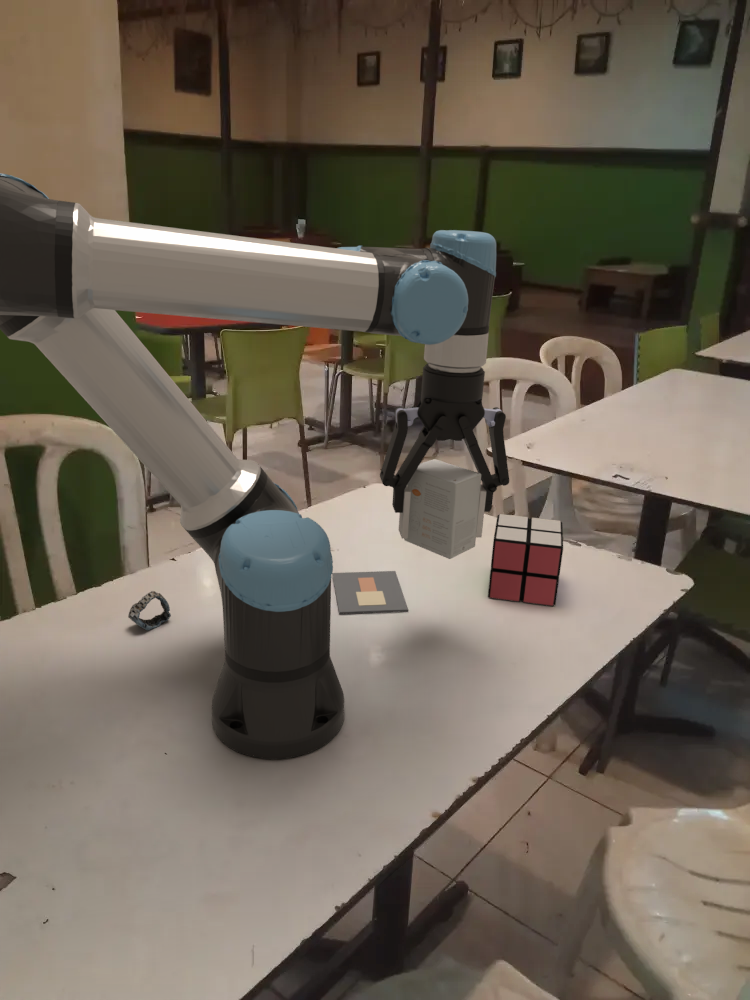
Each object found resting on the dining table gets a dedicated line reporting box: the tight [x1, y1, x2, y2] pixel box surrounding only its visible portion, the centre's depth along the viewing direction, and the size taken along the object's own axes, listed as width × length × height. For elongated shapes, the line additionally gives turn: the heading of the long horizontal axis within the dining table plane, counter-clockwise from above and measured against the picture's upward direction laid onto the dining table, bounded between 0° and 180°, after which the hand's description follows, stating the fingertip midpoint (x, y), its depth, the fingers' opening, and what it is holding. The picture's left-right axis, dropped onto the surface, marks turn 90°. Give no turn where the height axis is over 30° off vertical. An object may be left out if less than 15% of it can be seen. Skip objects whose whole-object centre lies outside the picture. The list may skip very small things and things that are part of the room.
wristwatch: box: [128, 590, 172, 631], centre depth 107 cm, size 3×5×5 cm
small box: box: [403, 458, 482, 560], centre depth 102 cm, size 8×6×10 cm
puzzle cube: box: [487, 513, 564, 607], centre depth 119 cm, size 10×10×10 cm
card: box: [331, 570, 409, 615], centre depth 118 cm, size 10×12×1 cm
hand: (439, 533), depth 103 cm, fingers closed on small box, 9 cm apart
